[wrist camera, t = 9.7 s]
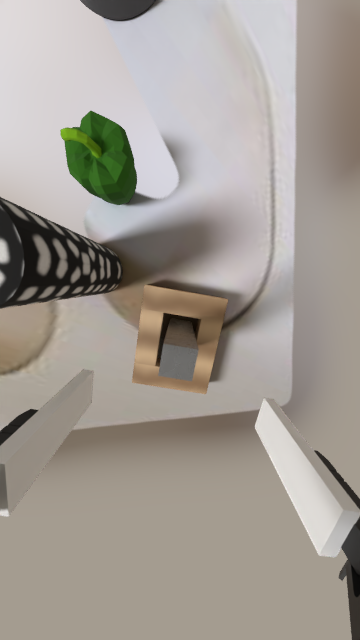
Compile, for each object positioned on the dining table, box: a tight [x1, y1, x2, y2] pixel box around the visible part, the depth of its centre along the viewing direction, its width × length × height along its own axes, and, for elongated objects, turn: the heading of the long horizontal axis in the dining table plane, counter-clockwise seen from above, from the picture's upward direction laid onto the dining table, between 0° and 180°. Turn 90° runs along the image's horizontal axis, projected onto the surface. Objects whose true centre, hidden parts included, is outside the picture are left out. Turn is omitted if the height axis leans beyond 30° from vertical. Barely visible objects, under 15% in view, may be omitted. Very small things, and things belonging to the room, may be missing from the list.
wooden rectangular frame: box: [132, 284, 228, 394], centre depth 32 cm, size 18×14×4 cm
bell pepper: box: [61, 111, 137, 205], centre depth 23 cm, size 8×8×10 cm
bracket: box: [158, 318, 199, 381], centre depth 27 cm, size 7×4×14 cm, turn 170°
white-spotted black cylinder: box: [0, 197, 123, 309], centre depth 21 cm, size 8×8×20 cm
